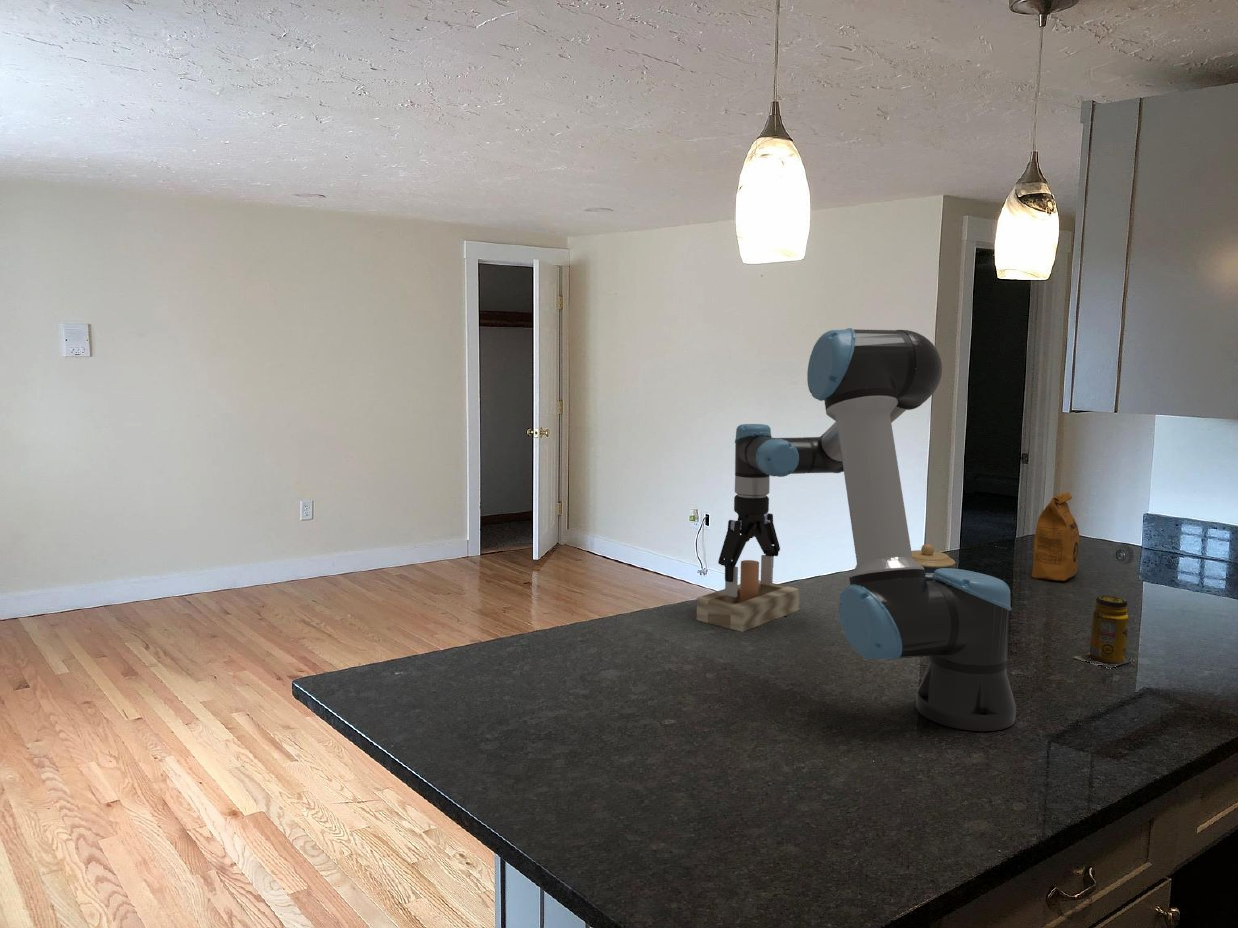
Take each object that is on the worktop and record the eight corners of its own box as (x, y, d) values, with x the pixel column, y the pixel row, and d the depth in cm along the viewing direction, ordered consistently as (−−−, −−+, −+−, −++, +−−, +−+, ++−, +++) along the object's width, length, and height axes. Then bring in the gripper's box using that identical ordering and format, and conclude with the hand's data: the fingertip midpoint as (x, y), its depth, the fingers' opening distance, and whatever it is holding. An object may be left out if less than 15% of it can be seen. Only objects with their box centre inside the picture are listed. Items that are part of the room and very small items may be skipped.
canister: (935, 637, 187) (940, 553, 185) (880, 622, 197) (884, 542, 194) (967, 625, 196) (971, 544, 193) (913, 611, 205) (916, 535, 203)
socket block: (742, 631, 190) (742, 608, 189) (696, 619, 198) (697, 597, 197) (798, 610, 206) (799, 588, 205) (754, 600, 214) (754, 579, 213)
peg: (751, 618, 199) (752, 565, 197) (735, 615, 202) (737, 562, 200) (761, 615, 202) (762, 562, 200) (746, 611, 205) (747, 559, 203)
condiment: (1134, 661, 173) (1139, 600, 172) (1110, 670, 169) (1115, 607, 167) (1097, 650, 179) (1101, 591, 178) (1073, 658, 175) (1077, 598, 173)
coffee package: (1083, 577, 238) (1089, 494, 235) (1065, 585, 229) (1071, 499, 227) (1044, 570, 245) (1050, 489, 242) (1025, 577, 237) (1031, 494, 234)
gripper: (769, 487, 210) (766, 576, 213) (703, 499, 192) (701, 597, 194) (797, 490, 205) (794, 582, 208) (732, 503, 187) (729, 604, 189)
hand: (749, 590), depth 201 cm, fingers open, 13 cm apart
